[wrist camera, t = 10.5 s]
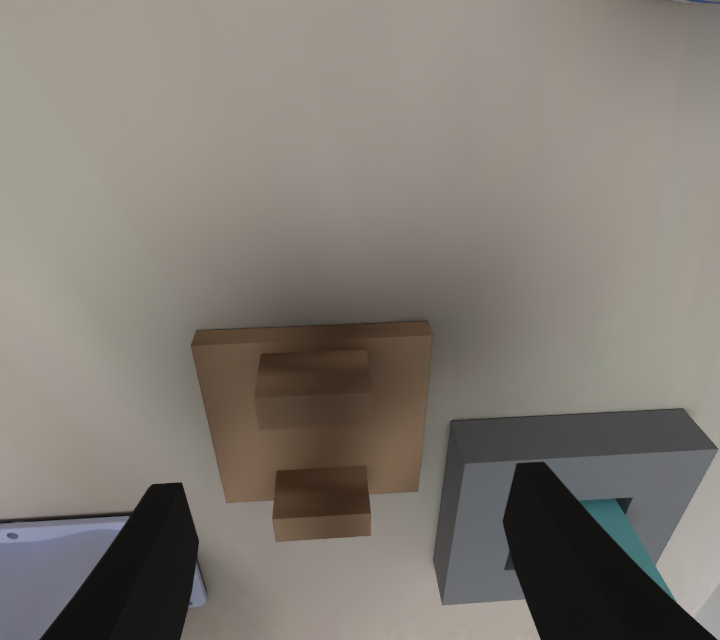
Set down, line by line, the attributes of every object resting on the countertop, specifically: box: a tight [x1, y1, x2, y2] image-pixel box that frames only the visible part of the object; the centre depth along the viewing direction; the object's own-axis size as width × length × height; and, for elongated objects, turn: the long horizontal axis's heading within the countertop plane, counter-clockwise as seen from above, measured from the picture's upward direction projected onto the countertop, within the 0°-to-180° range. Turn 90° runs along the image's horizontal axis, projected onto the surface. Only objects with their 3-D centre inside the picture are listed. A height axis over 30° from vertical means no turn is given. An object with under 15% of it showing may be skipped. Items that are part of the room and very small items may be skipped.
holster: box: [191, 321, 432, 542], centre depth 21 cm, size 9×9×4 cm
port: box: [433, 409, 718, 605], centre depth 25 cm, size 11×11×3 cm
